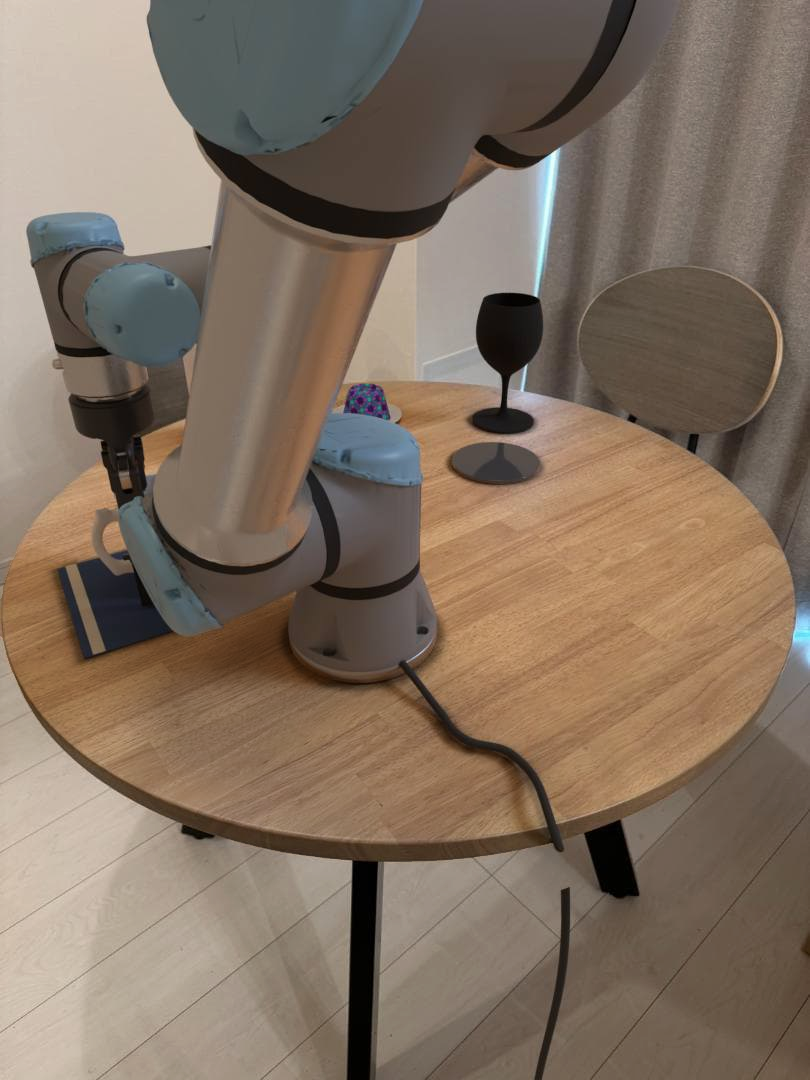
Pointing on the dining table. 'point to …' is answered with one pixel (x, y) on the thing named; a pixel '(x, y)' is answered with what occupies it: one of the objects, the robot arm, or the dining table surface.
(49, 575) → the dining table surface
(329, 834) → the dining table surface
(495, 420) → the wine glass
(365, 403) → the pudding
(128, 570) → the mug
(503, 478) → the coaster
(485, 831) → the dining table surface
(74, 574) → the placemat
